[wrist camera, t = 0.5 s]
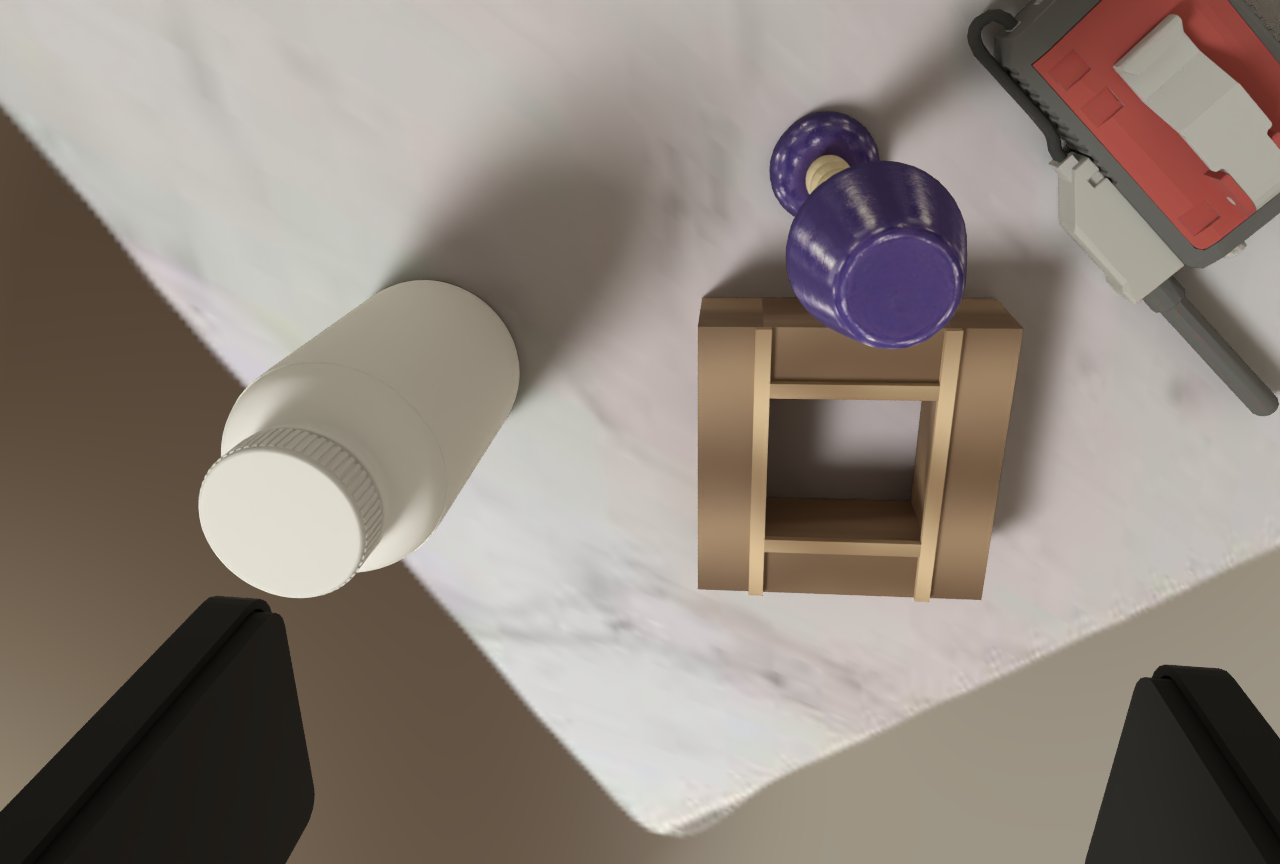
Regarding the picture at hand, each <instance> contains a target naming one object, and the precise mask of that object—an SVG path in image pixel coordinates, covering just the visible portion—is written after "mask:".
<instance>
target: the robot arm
mask: <svg viewBox="0 0 1280 864" xmlns="http://www.w3.org/2000/svg"><path fill="white" fill-rule="evenodd" d="M314 795H315V794H314V785H313V780H312V774H311V769H310V762H309V757H308V751H307V746H306V740H305V735H304V729H303V724H302V718H301V712H300V707H299V702H298V696H297V690H296V685H295V679H294V674H293V668H292V662H291V657H290V651H289V646H288V640H287V635H286V629H285V624H284V621H283V618H282V617H281V616H280V615H279V614H277V613H272V612H271V609H270V607H269V605H268V604H267V603H266V601H264V600H261V599H253V598H238V597H224V596H214V597H210V598H208V599H207V600H206V601H204V602H203V603H202V604H201V605H200V606H199V607H198V608H197V609H196V610H195V611H194V612H193V614H191V615H190V617H189V618H188V619H187V620H186V621H185V622H184V623H183V624H182V625H181V626H180V627H179V628H178V629H177V630H176V631H175V632H174V633H173V634H172V635H171V636H170V637H169V638H168V639H167V640H166V641H165V642H164V643H163V644H162V646H160V648H159V649H158V650H157V651H156V652H155V653H154V654H153V655H152V656H151V657H150V658H149V659H148V660H147V661H146V662H145V663H144V664H143V665H142V666H141V667H140V668H139V669H138V670H137V671H136V672H135V673H134V674H133V675H132V677H131V678H130V679H129V680H128V681H127V682H126V683H125V684H124V685H123V686H122V687H121V688H120V689H119V690H118V691H117V692H116V693H115V694H114V695H113V696H112V697H111V698H110V699H109V700H108V701H107V702H106V703H105V704H104V705H103V707H101V708H100V710H99V711H98V712H97V713H96V714H95V715H94V716H93V717H92V718H91V719H90V720H89V721H88V722H87V723H86V724H85V725H84V726H83V727H82V728H81V729H80V730H79V731H78V732H77V733H76V734H75V735H74V737H72V738H71V739H70V741H69V742H68V743H67V744H66V745H65V746H64V747H63V748H62V749H61V750H60V751H59V752H58V753H57V754H56V755H55V756H54V757H53V758H52V759H51V760H50V761H49V762H48V763H47V764H46V765H45V767H43V768H42V769H41V770H40V772H39V773H38V774H37V775H36V776H35V777H34V778H33V779H32V780H31V781H30V782H29V783H28V784H27V785H26V786H25V787H24V788H23V789H22V790H21V791H20V792H19V793H18V794H17V795H16V797H14V798H13V799H12V800H11V801H10V803H9V804H8V805H7V806H6V807H5V808H4V809H3V810H2V811H1V812H0V864H285V863H286V862H287V860H288V858H289V856H290V854H291V853H292V851H293V849H294V847H295V845H296V844H297V842H298V840H299V838H300V836H301V834H302V833H303V831H304V829H305V827H306V826H307V823H308V822H309V819H310V816H311V813H312V810H313V805H314ZM1085 864H1280V738H1279V737H1278V736H1277V734H1276V733H1275V732H1274V730H1273V729H1272V728H1271V726H1270V725H1269V724H1268V723H1267V721H1266V720H1265V719H1264V717H1263V716H1262V715H1261V713H1260V712H1259V711H1258V709H1257V708H1256V707H1255V706H1254V704H1253V703H1252V702H1251V700H1250V699H1249V698H1248V696H1247V695H1246V694H1245V693H1244V691H1243V690H1242V688H1241V687H1240V686H1239V685H1238V683H1237V682H1236V681H1235V679H1234V678H1233V677H1232V676H1231V675H1230V674H1229V673H1228V672H1227V671H1225V670H1222V669H1219V668H1204V667H1190V666H1177V665H1162V666H1159V667H1158V668H1157V669H1156V671H1155V672H1154V674H1153V676H1152V678H1148V677H1144V678H1141V679H1140V680H1139V681H1138V682H1137V684H1136V686H1135V689H1134V692H1133V695H1132V699H1131V702H1130V706H1129V709H1128V713H1127V716H1126V720H1125V723H1124V727H1123V731H1122V734H1121V737H1120V741H1119V744H1118V748H1117V752H1116V755H1115V758H1114V762H1113V765H1112V769H1111V773H1110V776H1109V780H1108V783H1107V786H1106V790H1105V793H1104V797H1103V801H1102V804H1101V807H1100V811H1099V814H1098V818H1097V822H1096V825H1095V829H1094V832H1093V836H1092V839H1091V843H1090V846H1089V850H1088V853H1087V857H1086V861H1085Z"/></svg>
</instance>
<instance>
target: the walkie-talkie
mask: <svg viewBox="0 0 1280 864" xmlns="http://www.w3.org/2000/svg"><path fill="white" fill-rule="evenodd" d="M1254 11H1255V8H1254V7H1253V6H1249V5H1248V4H1247V3H1246V1H1245V0H1032V1H1031V2H1030V3H1029V4H1028V5H1027V6H1026V7H1025V8H1024V9H1023V10H1022V11H1021V12H1020V13H1019V14H1018V15H1017V16H1016V17H1015V18H1014V17H1013V16H1012V15H1011V14H1010V13H1007V12H1005V11H1003V10H1000V9H998V10H987V11H986V12H984V13H983V14H981V15H979V16H978V17H976V18H975V19H974V20H973V21H972V23H971V25H970V26H969V30H968V35H967V38H968V43H969V46H970V48H971V50H972V52H973V54H974V56H975V57H976V58H977V59H978V60H979V61H980V62H981V64H982V65H983V66H984V67H985V68H986V69H987V70H988V71H989V72H990V73H991V75H992V76H993V77H994V78H995V79H996V80H997V81H998V82H999V83H1000V84H1001V86H1002V87H1003V88H1004V89H1005V90H1006V91H1007V92H1008V93H1009V94H1010V95H1011V97H1012V98H1013V99H1014V100H1015V101H1016V102H1017V103H1018V104H1019V105H1020V106H1021V108H1022V109H1023V110H1024V111H1025V112H1026V113H1027V114H1028V115H1029V117H1030V118H1031V119H1032V120H1033V121H1034V123H1035V124H1036V125H1037V126H1038V127H1039V129H1040V130H1041V131H1042V132H1043V134H1044V135H1045V137H1046V140H1047V146H1048V151H1049V153H1050V155H1051V157H1052V158H1053V160H1052V161H1051V162H1050V163H1049V165H1050V166H1051V167H1052V168H1053V169H1054V170H1055V171H1056V172H1057V173H1058V181H1059V222H1060V225H1061V226H1062V227H1063V228H1064V229H1065V230H1066V231H1067V233H1068V234H1069V235H1070V236H1071V237H1072V238H1073V239H1074V240H1075V241H1076V242H1077V244H1078V245H1079V246H1080V247H1081V248H1082V249H1083V250H1084V251H1085V252H1086V253H1087V254H1088V256H1089V257H1090V258H1091V259H1092V260H1093V261H1094V262H1095V263H1096V264H1097V265H1098V267H1099V268H1100V269H1101V270H1102V271H1103V272H1104V273H1105V274H1106V280H1107V282H1108V283H1109V284H1110V285H1111V286H1112V287H1113V289H1114V290H1115V291H1116V292H1117V293H1119V294H1120V295H1121V296H1123V297H1124V298H1125V299H1127V300H1128V301H1129V302H1131V303H1132V304H1135V303H1138V302H1139V301H1140V300H1142V299H1143V301H1144V302H1145V303H1146V304H1147V305H1148V306H1149V307H1150V308H1151V309H1152V310H1153V311H1154V312H1156V313H1157V312H1160V313H1161V314H1162V315H1163V316H1164V317H1165V318H1166V319H1167V320H1168V321H1169V323H1170V324H1171V325H1172V326H1173V327H1174V328H1175V329H1176V330H1177V331H1178V332H1179V333H1180V335H1181V336H1182V337H1183V338H1184V339H1185V340H1186V341H1187V342H1188V343H1189V344H1190V345H1191V347H1192V348H1193V349H1194V350H1195V351H1196V352H1197V353H1198V354H1199V355H1200V356H1201V357H1202V359H1203V360H1204V361H1205V362H1206V363H1207V364H1208V365H1209V366H1210V367H1211V368H1212V369H1213V371H1214V372H1215V373H1216V374H1217V375H1218V376H1219V377H1220V378H1221V379H1222V380H1223V381H1224V383H1225V384H1226V385H1227V386H1228V387H1229V388H1230V389H1231V390H1232V391H1233V392H1234V393H1235V394H1236V396H1237V397H1238V398H1239V399H1240V400H1241V401H1242V402H1243V403H1244V404H1245V405H1246V406H1247V407H1248V408H1249V410H1250V411H1251V412H1252V413H1253V414H1256V415H1258V416H1267V415H1270V414H1272V413H1274V412H1275V411H1276V410H1277V408H1278V405H1279V403H1278V399H1277V397H1276V396H1275V395H1274V394H1273V393H1272V392H1271V390H1270V389H1269V388H1268V387H1267V386H1266V385H1265V384H1264V383H1263V382H1262V381H1261V380H1260V378H1259V377H1258V376H1257V375H1256V374H1255V373H1254V372H1253V371H1252V370H1251V369H1250V368H1249V366H1248V365H1247V364H1246V363H1245V362H1244V361H1243V360H1242V359H1241V358H1240V357H1239V356H1238V354H1237V353H1236V352H1235V351H1234V350H1233V349H1232V348H1231V347H1230V346H1229V345H1228V344H1227V342H1226V341H1225V340H1224V339H1223V338H1222V337H1221V336H1220V335H1219V334H1218V333H1217V332H1216V330H1215V329H1214V328H1213V327H1212V326H1211V325H1210V324H1209V323H1208V322H1207V321H1206V320H1205V318H1204V317H1203V316H1202V315H1201V314H1200V313H1199V312H1198V311H1197V310H1196V309H1195V308H1194V306H1193V305H1192V304H1191V303H1190V302H1189V301H1188V300H1187V299H1186V298H1185V297H1184V294H1185V289H1184V288H1183V287H1182V286H1181V285H1180V284H1179V283H1178V281H1177V280H1176V279H1175V278H1174V277H1173V276H1172V275H1173V274H1174V273H1175V272H1177V271H1178V270H1179V269H1180V268H1182V267H1183V266H1184V264H1185V265H1187V266H1189V267H1197V268H1205V267H1207V266H1208V265H1210V264H1212V263H1214V262H1216V261H1218V260H1219V259H1221V258H1223V257H1224V258H1231V257H1234V256H1236V255H1238V254H1239V253H1240V252H1242V251H1243V250H1244V248H1245V247H1246V243H1245V242H1244V241H1245V240H1246V239H1247V238H1249V237H1250V236H1251V235H1252V234H1254V233H1255V232H1256V231H1257V230H1259V229H1260V228H1261V227H1262V226H1264V225H1265V224H1266V223H1268V222H1269V221H1270V220H1271V219H1273V218H1274V217H1275V216H1276V215H1278V214H1279V213H1280V41H1277V40H1276V39H1275V37H1274V34H1275V33H1274V31H1273V30H1268V29H1267V27H1266V26H1265V25H1264V22H1265V20H1264V19H1263V18H1258V16H1257V15H1256V14H1255V13H1254ZM992 21H995V22H997V23H999V24H1001V25H1002V26H1003V27H1004V29H1003V30H1002V31H1001V32H1000V33H999V34H998V35H997V36H996V37H995V43H994V57H993V56H992V55H991V54H990V53H989V52H988V50H987V49H986V47H985V46H984V44H983V42H982V38H981V30H982V29H983V27H984V26H985V25H987V24H989V23H990V22H992ZM1060 138H1061V139H1064V140H1066V141H1067V144H1066V145H1067V147H1068V148H1070V149H1073V150H1075V151H1076V152H1077V153H1075V152H1072V151H1071V152H1070V153H1067V152H1064V151H1063V149H1062V146H1061V140H1060Z"/></svg>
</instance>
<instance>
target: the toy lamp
mask: <svg viewBox="0 0 1280 864" xmlns="http://www.w3.org/2000/svg"><path fill="white" fill-rule="evenodd" d="M770 180H771V185H772V189H773V192H774V194H775V196H776V198H777V199H778V201H779V202H780V204H781V205H782V207H783V208H784V209H785V210H786V211H787V212H789V213H790V214H792V215H793V216H795V218H794V220H793V222H792V225H791V228H790V232H789V235H788V240H787V246H786V266H787V271H788V276H789V281H790V284H791V286H792V289H793V291H794V293H795V295H796V296H797V298H798V299H799V301H800V303H801V304H802V305H803V306H804V307H805V309H806V310H807V311H808V312H809V313H810V314H811V315H812V316H813V317H814V318H815V319H816V320H818V321H819V322H821V323H822V324H824V325H825V326H827V327H828V328H830V329H832V330H834V331H836V332H838V333H840V334H842V335H844V336H846V337H848V338H851V339H853V340H855V341H858V342H860V343H863V344H865V345H868V346H871V347H875V348H882V349H901V348H908V347H911V346H914V345H917V344H919V343H922V342H924V341H926V340H928V339H929V338H931V337H932V336H933V335H935V334H936V333H938V332H939V331H940V330H941V329H942V328H943V327H944V326H946V325H947V323H948V322H949V321H950V320H951V318H952V317H953V315H954V314H955V312H956V310H957V308H958V306H959V305H960V303H961V300H962V297H963V293H964V289H965V283H966V270H967V235H966V228H965V223H964V220H963V217H962V214H961V212H960V210H959V208H958V206H957V204H956V202H955V200H954V198H953V197H952V196H951V194H950V193H949V192H948V191H947V189H946V188H945V187H944V186H943V185H942V184H941V183H940V182H939V181H938V180H936V179H935V178H933V177H932V176H931V175H929V174H928V173H926V172H924V171H923V170H920V169H918V168H916V167H914V166H910V165H907V164H904V163H900V162H893V161H879V155H878V150H877V147H876V144H875V142H874V140H873V138H872V136H871V135H870V133H869V132H868V131H867V129H866V128H865V127H864V126H863V125H862V124H861V123H859V122H858V121H857V120H855V119H853V118H851V117H849V116H848V115H845V114H841V113H837V112H817V113H813V114H810V115H808V116H806V117H804V118H802V119H800V120H799V121H797V122H795V123H794V124H793V125H792V126H790V127H789V129H788V130H787V131H786V132H785V133H784V134H783V135H782V136H781V137H780V139H779V141H778V142H777V144H776V146H775V148H774V150H773V154H772V157H771V161H770Z"/></svg>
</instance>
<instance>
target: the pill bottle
mask: <svg viewBox="0 0 1280 864" xmlns="http://www.w3.org/2000/svg"><path fill="white" fill-rule="evenodd" d="M519 377H520V369H519V360H518V355H517V351H516V347H515V344H514V342H513V339H512V337H511V335H510V333H509V331H508V329H507V328H506V326H505V325H504V323H503V322H502V320H501V319H500V318H499V316H498V315H497V314H496V313H495V312H494V311H493V310H492V309H491V308H490V307H489V306H488V305H487V304H486V303H485V302H483V301H482V300H481V299H479V298H478V297H477V296H475V295H473V294H472V293H470V292H468V291H466V290H464V289H462V288H460V287H457V286H455V285H452V284H448V283H445V282H440V281H433V280H415V281H408V282H403V283H399V284H396V285H394V286H391V287H389V288H386V289H384V290H382V291H380V292H378V293H376V294H375V295H373V296H372V297H370V298H369V299H368V300H366V301H365V302H363V303H362V304H361V305H359V306H358V307H356V308H355V309H354V310H352V311H351V312H349V313H348V314H346V315H345V316H344V317H342V318H341V319H339V320H338V321H337V322H335V323H334V324H332V325H331V326H330V327H328V328H327V329H325V330H324V331H323V332H321V333H320V334H318V335H317V336H315V337H314V338H313V339H311V340H310V341H308V342H307V343H306V344H304V345H303V346H301V347H300V348H299V349H297V350H296V351H294V352H293V353H291V354H290V355H289V356H287V357H286V358H284V359H283V360H282V361H280V362H279V363H277V364H276V365H275V366H273V367H272V368H270V369H269V370H268V371H266V372H265V373H263V374H262V375H261V376H259V377H258V378H257V379H256V380H255V381H253V382H252V383H251V384H250V385H249V386H248V387H247V388H246V389H245V390H244V391H243V393H242V394H241V395H240V397H239V398H238V400H237V401H236V403H235V405H234V406H233V409H232V411H231V413H230V415H229V417H228V420H227V422H226V425H225V428H224V433H223V438H222V445H221V458H220V459H218V460H217V462H215V463H214V464H213V466H212V467H211V468H210V469H209V471H208V473H207V474H206V476H205V477H204V479H205V480H204V481H203V482H202V487H201V489H200V495H199V517H200V522H201V526H202V529H203V532H204V534H205V537H206V539H207V540H208V543H209V544H210V546H211V548H212V550H213V551H214V552H215V554H216V555H217V557H218V558H219V559H220V560H221V561H222V562H223V564H224V565H225V566H226V567H227V568H229V569H230V570H231V571H232V572H233V573H234V574H235V575H237V576H238V577H240V578H241V579H242V580H244V581H245V582H247V583H249V584H250V585H252V586H254V587H256V588H258V589H261V590H263V591H265V592H268V593H271V594H275V595H279V596H284V597H291V598H308V597H316V596H319V595H324V594H326V593H330V592H333V590H337V589H339V588H340V586H343V585H345V584H346V582H348V581H350V580H351V578H352V577H353V576H354V575H355V574H356V573H357V572H364V571H370V570H375V569H379V568H382V567H385V566H388V565H391V564H393V563H395V562H397V561H399V560H401V559H403V558H404V557H406V556H408V555H410V554H411V553H413V552H414V551H416V550H417V549H418V548H419V547H421V546H422V545H423V544H424V543H425V542H426V541H427V540H428V539H429V537H430V536H431V535H432V534H433V532H434V531H435V530H436V528H437V527H438V526H439V524H440V522H441V521H442V519H443V518H444V516H445V515H446V513H447V512H448V510H449V508H450V507H451V505H452V504H453V502H454V500H455V499H456V497H457V496H458V494H459V493H460V491H461V489H462V488H463V486H464V485H465V483H466V482H467V480H468V478H469V477H470V475H471V474H472V472H473V470H474V469H475V467H476V466H477V464H478V463H479V461H480V459H481V458H482V456H483V455H484V453H485V452H486V450H487V448H488V447H489V445H490V444H491V442H492V440H493V439H494V437H495V436H496V434H497V433H498V431H499V429H500V428H501V426H502V425H503V423H504V422H505V420H506V418H507V417H508V415H509V413H510V411H511V409H512V407H513V404H514V401H515V398H516V395H517V391H518V386H519Z"/></svg>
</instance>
